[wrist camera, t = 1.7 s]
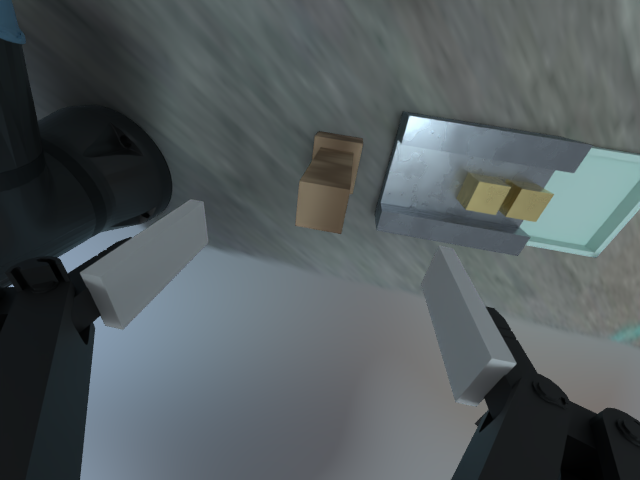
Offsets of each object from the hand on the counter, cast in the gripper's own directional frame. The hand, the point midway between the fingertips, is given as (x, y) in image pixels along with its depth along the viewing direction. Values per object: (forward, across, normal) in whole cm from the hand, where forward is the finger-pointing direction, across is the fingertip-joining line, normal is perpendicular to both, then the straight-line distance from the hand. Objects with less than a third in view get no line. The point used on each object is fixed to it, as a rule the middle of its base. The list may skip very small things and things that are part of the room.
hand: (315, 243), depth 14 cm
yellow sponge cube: (+17, +19, 0) cm, 25 cm away
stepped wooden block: (+18, 0, 0) cm, 19 cm away
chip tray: (+19, +27, 0) cm, 33 cm away
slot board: (+19, +14, 0) cm, 23 cm away
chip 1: (+17, +15, 0) cm, 22 cm away
